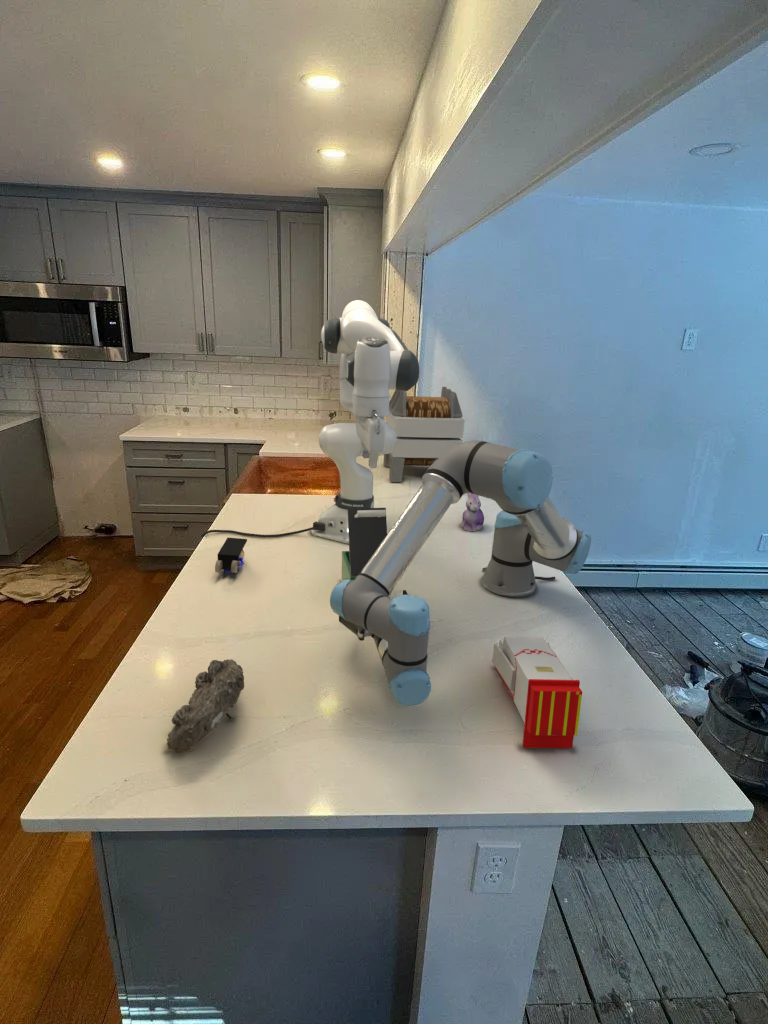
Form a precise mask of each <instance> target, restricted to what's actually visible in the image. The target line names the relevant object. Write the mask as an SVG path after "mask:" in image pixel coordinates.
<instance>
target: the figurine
mask: <svg viewBox="0 0 768 1024" xmlns="http://www.w3.org/2000/svg"><path fill="white" fill-rule="evenodd" d="M465 507H466V509H465V510H464V511H463V513H462V516H461V517H462V518H461V519H462V520H461V527H462V528H463V530H464V531H469V532H475V531H480V530H481V529H482V528H484V523H485V515H484V512H483V510H482V509H481V507H482V502H481V499H480V497H479V495H476V494H472V493H467V499H466V501H465Z"/></svg>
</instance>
